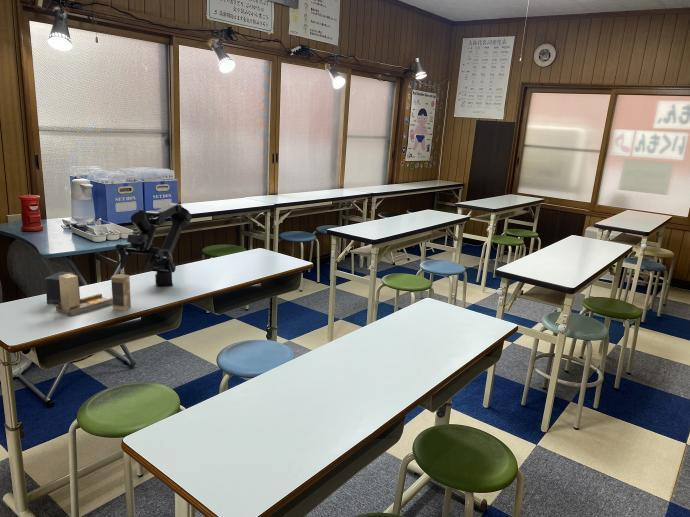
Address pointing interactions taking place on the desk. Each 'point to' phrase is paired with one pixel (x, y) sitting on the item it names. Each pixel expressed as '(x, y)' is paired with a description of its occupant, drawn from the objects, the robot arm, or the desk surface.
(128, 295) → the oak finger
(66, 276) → the rail
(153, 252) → the robot arm
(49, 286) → the small box
